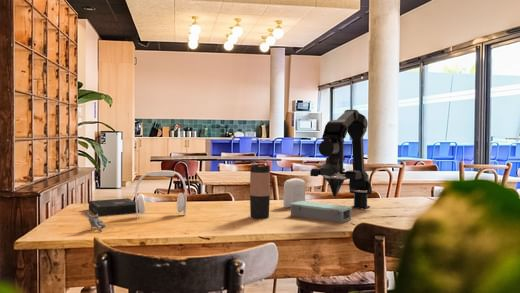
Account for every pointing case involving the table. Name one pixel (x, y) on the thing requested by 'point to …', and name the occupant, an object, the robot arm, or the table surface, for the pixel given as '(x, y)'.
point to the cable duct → (321, 214)
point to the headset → (181, 197)
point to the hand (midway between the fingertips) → (334, 196)
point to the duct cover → (320, 206)
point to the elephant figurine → (95, 221)
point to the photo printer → (293, 191)
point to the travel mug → (259, 191)
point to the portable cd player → (112, 207)
